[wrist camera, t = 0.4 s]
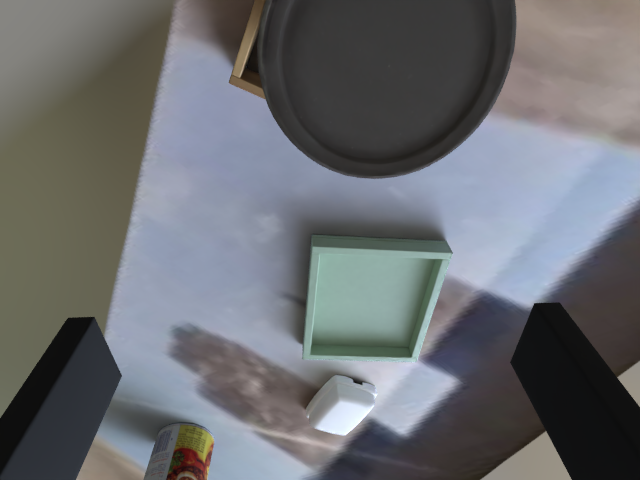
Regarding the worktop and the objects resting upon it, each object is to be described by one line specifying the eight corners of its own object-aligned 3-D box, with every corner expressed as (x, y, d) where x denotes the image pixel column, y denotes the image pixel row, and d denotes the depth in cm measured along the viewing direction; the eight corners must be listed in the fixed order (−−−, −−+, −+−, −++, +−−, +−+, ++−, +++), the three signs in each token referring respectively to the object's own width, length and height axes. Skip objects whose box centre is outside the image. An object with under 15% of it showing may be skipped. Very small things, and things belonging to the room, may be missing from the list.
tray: (311, 234, 37) (312, 246, 36) (446, 240, 38) (453, 252, 37) (302, 345, 46) (302, 359, 44) (412, 348, 47) (416, 362, 45)
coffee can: (445, -55, 25) (567, -77, 14) (403, 107, 31) (464, 191, 19) (284, -85, 24) (265, -136, 12) (271, 89, 30) (251, 166, 18)
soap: (334, 372, 49) (335, 393, 47) (380, 386, 51) (384, 407, 49) (302, 410, 53) (302, 431, 51) (345, 422, 55) (347, 443, 53)
